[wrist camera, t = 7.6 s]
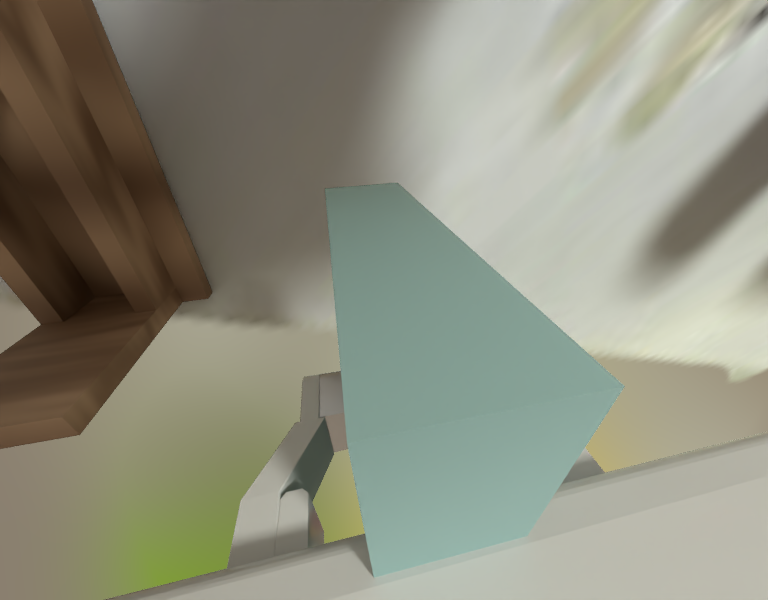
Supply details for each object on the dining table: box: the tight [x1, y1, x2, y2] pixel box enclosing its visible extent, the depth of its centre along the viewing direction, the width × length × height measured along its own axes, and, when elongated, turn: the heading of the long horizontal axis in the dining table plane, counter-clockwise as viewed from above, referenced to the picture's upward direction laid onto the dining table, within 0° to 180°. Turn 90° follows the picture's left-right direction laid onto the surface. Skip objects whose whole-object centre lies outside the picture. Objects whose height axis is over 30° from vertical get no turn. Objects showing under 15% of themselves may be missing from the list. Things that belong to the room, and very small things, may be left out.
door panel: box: [325, 183, 624, 578], centre depth 9 cm, size 11×2×9 cm, turn 2°
